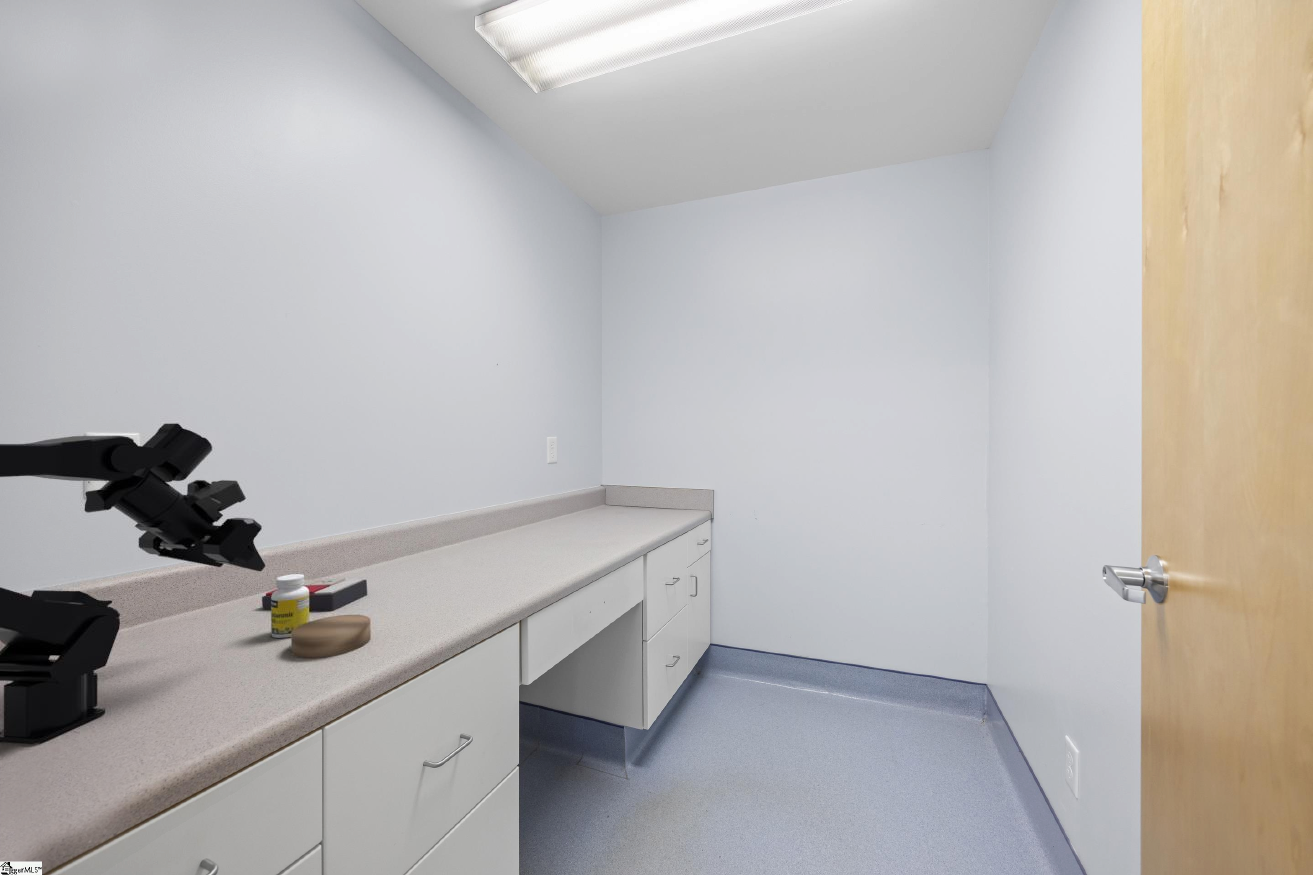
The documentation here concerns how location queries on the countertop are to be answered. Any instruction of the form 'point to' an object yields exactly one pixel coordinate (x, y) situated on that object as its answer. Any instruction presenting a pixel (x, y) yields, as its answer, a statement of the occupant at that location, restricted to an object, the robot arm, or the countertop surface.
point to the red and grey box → (328, 593)
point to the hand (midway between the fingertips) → (242, 566)
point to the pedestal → (330, 636)
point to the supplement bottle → (289, 605)
